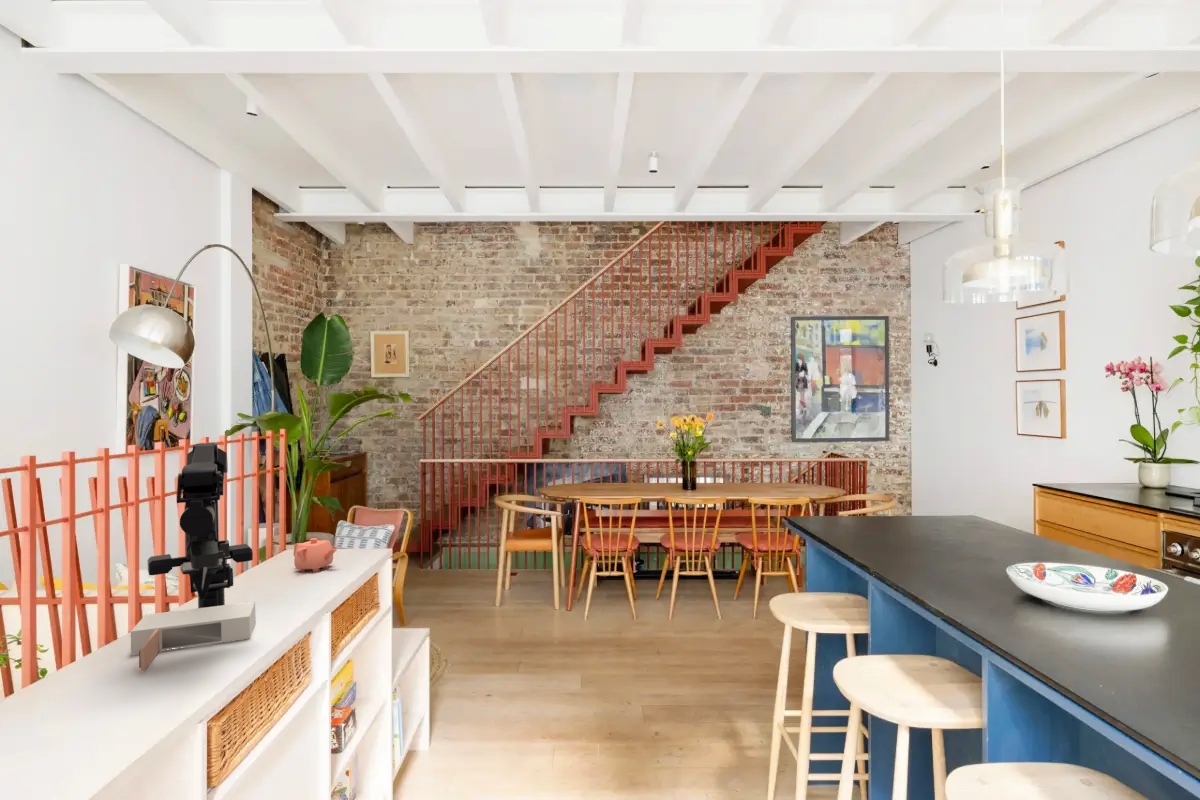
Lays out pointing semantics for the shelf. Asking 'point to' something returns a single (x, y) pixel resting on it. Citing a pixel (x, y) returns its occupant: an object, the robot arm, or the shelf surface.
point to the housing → (196, 626)
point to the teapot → (313, 554)
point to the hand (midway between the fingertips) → (202, 599)
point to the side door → (149, 650)
